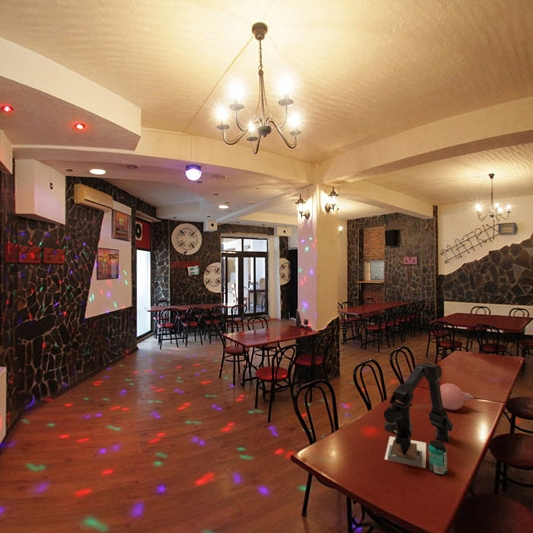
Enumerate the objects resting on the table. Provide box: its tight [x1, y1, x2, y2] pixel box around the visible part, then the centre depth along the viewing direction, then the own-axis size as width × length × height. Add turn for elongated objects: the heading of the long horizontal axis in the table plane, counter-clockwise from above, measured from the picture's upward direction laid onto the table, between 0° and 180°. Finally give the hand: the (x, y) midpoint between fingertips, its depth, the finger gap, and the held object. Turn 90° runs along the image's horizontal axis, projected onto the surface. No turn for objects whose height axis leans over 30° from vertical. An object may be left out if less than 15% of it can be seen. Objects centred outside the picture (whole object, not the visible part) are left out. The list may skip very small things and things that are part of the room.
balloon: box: [440, 382, 474, 411], centre depth 202 cm, size 15×20×15 cm
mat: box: [384, 435, 427, 469], centre depth 157 cm, size 23×17×3 cm
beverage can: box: [427, 439, 449, 477], centre depth 141 cm, size 7×7×12 cm
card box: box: [392, 440, 417, 459], centre depth 151 cm, size 10×6×4 cm, turn 64°
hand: (404, 451), depth 151 cm, fingers closed on card box, 6 cm apart
